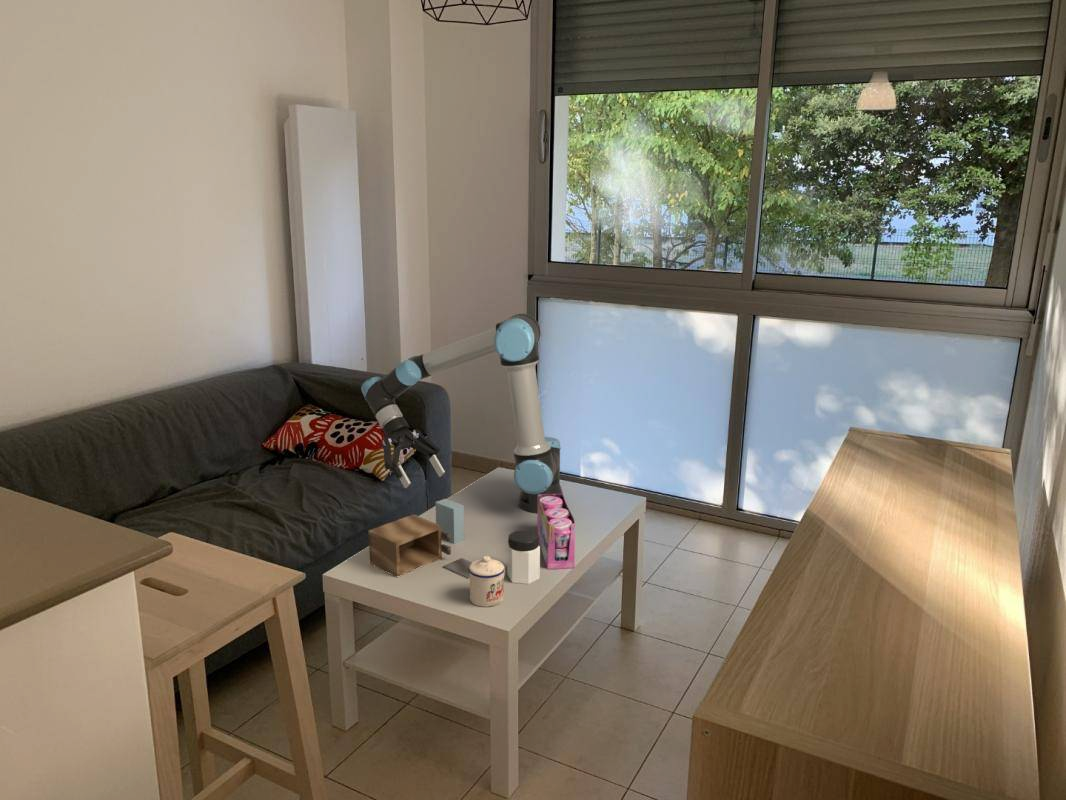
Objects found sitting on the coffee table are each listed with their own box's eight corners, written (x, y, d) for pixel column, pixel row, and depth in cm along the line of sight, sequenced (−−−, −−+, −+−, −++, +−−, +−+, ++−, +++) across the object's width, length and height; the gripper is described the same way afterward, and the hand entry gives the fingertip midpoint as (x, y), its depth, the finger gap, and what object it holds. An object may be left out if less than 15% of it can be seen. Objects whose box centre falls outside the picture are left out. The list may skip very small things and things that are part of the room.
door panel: (436, 536, 248) (435, 502, 245) (446, 532, 251) (445, 498, 248) (454, 544, 243) (453, 509, 240) (464, 539, 246) (463, 505, 243)
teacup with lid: (490, 611, 205) (490, 568, 202) (461, 601, 210) (461, 559, 207) (518, 592, 214) (518, 551, 211) (489, 583, 219) (489, 542, 216)
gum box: (576, 570, 227) (577, 525, 223) (547, 572, 226) (548, 526, 222) (562, 535, 250) (563, 493, 246) (536, 536, 249) (536, 494, 245)
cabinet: (423, 542, 244) (422, 510, 241) (486, 570, 226) (486, 536, 224) (369, 563, 230) (368, 530, 227) (432, 595, 212) (431, 559, 210)
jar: (523, 566, 229) (523, 526, 225) (545, 576, 223) (546, 535, 220) (501, 577, 222) (500, 536, 219) (523, 587, 217) (523, 545, 214)
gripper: (418, 421, 267) (450, 475, 261) (354, 437, 249) (387, 496, 243) (428, 408, 262) (461, 464, 256) (364, 424, 244) (398, 484, 238)
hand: (425, 480), depth 250 cm, fingers open, 13 cm apart
